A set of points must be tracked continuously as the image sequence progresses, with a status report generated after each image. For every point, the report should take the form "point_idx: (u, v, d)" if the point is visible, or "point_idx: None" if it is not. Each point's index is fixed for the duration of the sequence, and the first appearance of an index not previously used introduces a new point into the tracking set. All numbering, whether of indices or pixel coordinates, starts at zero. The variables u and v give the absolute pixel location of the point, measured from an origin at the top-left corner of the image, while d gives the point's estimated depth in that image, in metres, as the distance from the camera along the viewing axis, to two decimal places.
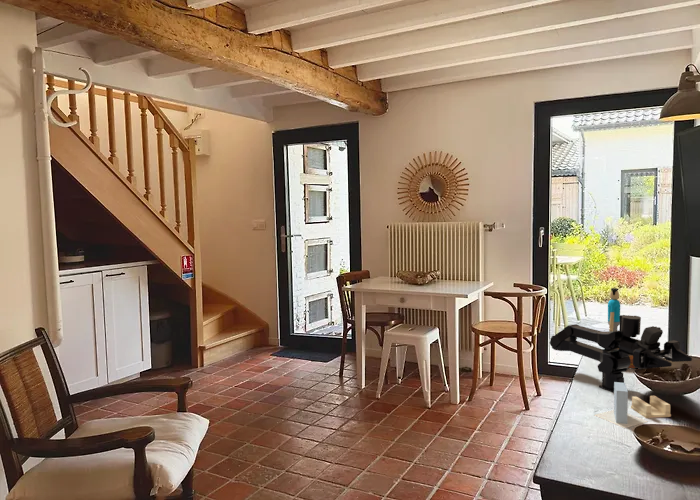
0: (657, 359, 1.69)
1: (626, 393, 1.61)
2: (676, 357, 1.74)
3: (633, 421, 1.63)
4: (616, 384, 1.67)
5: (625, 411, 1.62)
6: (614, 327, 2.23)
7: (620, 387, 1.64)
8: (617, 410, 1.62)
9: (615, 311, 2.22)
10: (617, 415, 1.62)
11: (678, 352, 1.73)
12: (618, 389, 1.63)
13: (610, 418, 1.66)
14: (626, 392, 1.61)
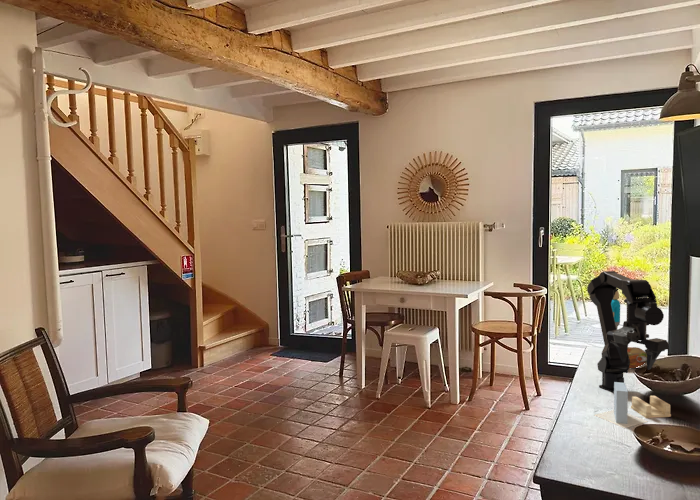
0: None
1: (626, 393, 1.61)
2: None
3: (633, 421, 1.63)
4: (616, 384, 1.67)
5: (625, 411, 1.62)
6: None
7: (620, 387, 1.64)
8: (617, 410, 1.62)
9: (615, 311, 2.22)
10: (617, 415, 1.62)
11: None
12: (618, 389, 1.63)
13: (610, 418, 1.66)
14: (626, 392, 1.61)
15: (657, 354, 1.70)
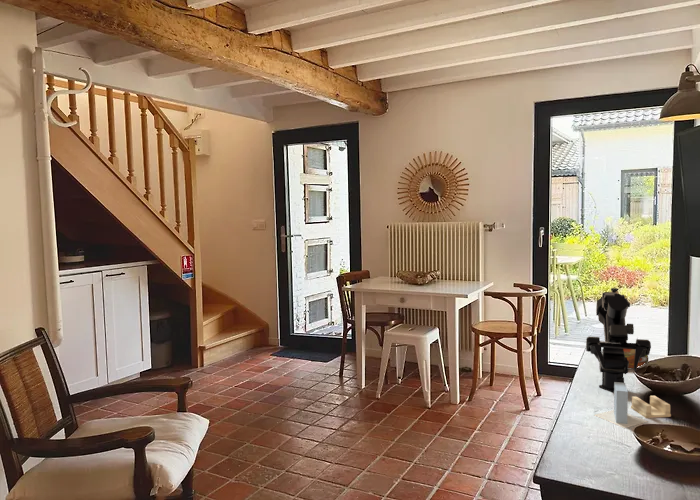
0: (598, 356, 1.76)
1: (626, 393, 1.61)
2: (634, 357, 1.74)
3: (633, 421, 1.63)
4: (616, 384, 1.67)
5: (625, 411, 1.62)
6: None
7: (620, 387, 1.64)
8: (617, 410, 1.62)
9: None
10: (617, 415, 1.62)
11: (635, 356, 1.72)
12: (618, 389, 1.63)
13: (610, 418, 1.66)
14: (626, 392, 1.61)
15: (639, 358, 1.74)
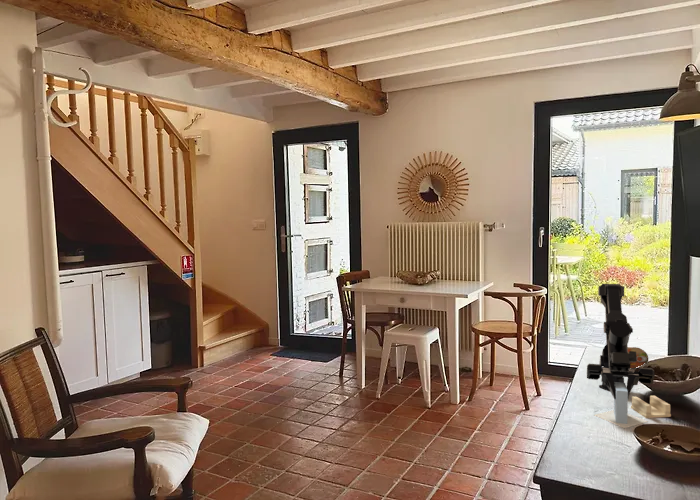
0: (610, 385, 1.67)
1: (626, 393, 1.61)
2: None
3: (633, 421, 1.63)
4: (616, 384, 1.67)
5: (625, 411, 1.62)
6: None
7: (620, 387, 1.64)
8: (617, 410, 1.62)
9: None
10: (617, 415, 1.62)
11: (627, 384, 1.65)
12: (618, 389, 1.63)
13: (610, 418, 1.66)
14: (626, 392, 1.61)
15: (631, 387, 1.67)
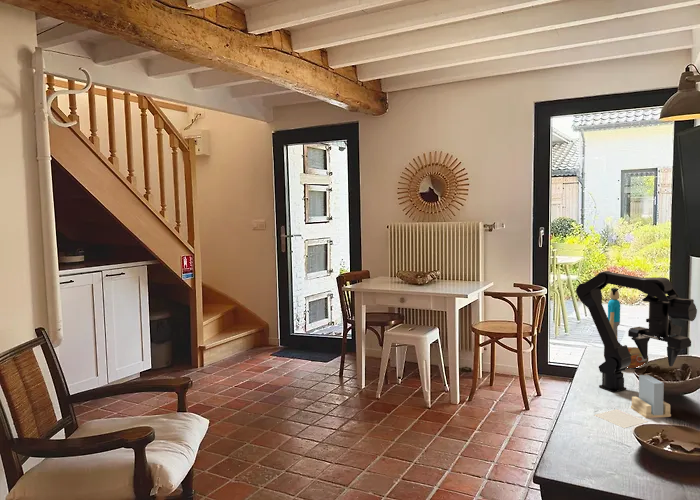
0: (676, 355, 1.73)
1: (662, 385, 1.65)
2: (642, 344, 1.82)
3: (633, 421, 1.63)
4: (644, 377, 1.70)
5: (661, 402, 1.65)
6: (614, 327, 2.23)
7: (651, 379, 1.68)
8: (654, 403, 1.65)
9: (615, 311, 2.22)
10: (654, 407, 1.65)
11: (646, 345, 1.83)
12: (653, 382, 1.66)
13: (610, 418, 1.66)
14: (662, 384, 1.65)
15: None
